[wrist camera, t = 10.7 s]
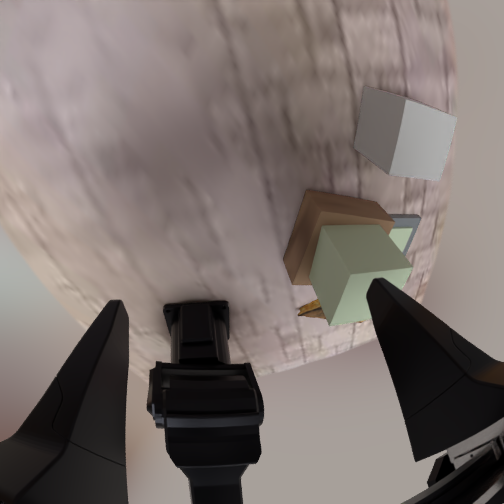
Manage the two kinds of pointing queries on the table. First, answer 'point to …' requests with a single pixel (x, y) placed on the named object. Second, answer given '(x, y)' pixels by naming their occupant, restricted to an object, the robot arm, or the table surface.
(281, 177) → the table surface
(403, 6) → the table surface
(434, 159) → the grey cube
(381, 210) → the walnut block
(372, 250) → the sage cube
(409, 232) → the card
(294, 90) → the table surface
